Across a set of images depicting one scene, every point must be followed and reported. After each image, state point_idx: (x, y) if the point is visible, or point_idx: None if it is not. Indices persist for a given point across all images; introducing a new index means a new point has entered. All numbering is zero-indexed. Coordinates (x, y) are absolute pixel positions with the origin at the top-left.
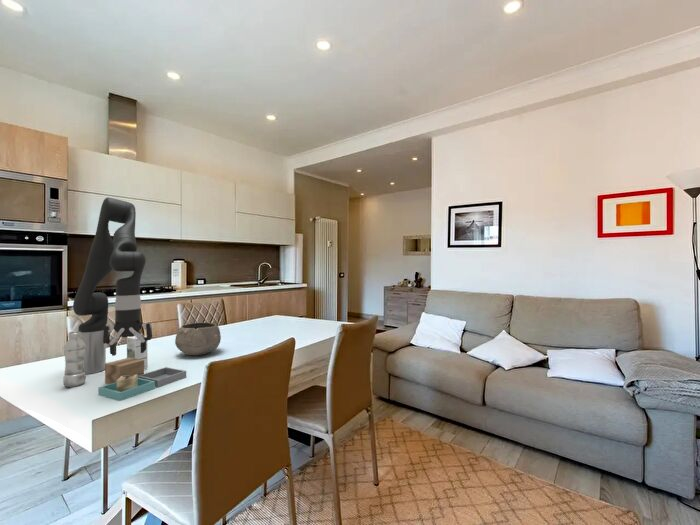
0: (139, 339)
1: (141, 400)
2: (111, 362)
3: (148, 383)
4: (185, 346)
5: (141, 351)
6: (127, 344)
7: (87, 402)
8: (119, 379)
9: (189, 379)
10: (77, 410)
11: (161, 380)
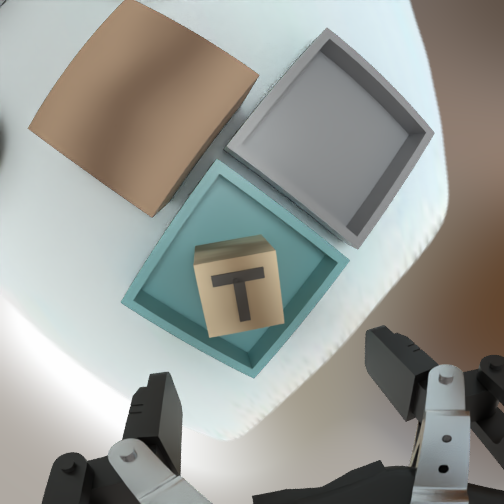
0: (414, 449)
1: (316, 349)
2: (53, 106)
3: (330, 284)
4: None
5: (376, 375)
6: None
7: (128, 340)
8: (215, 325)
9: (426, 150)
10: None
11: (366, 232)
